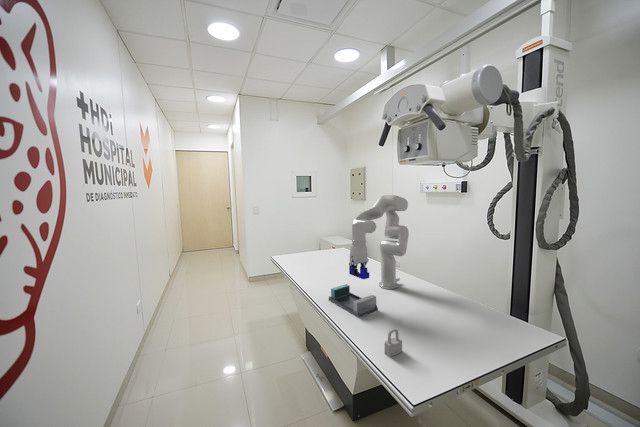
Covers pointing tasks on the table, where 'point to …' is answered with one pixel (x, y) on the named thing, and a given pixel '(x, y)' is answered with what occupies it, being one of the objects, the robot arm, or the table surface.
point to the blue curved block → (362, 274)
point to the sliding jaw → (340, 291)
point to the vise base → (356, 304)
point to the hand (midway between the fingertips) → (358, 274)
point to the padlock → (393, 344)
